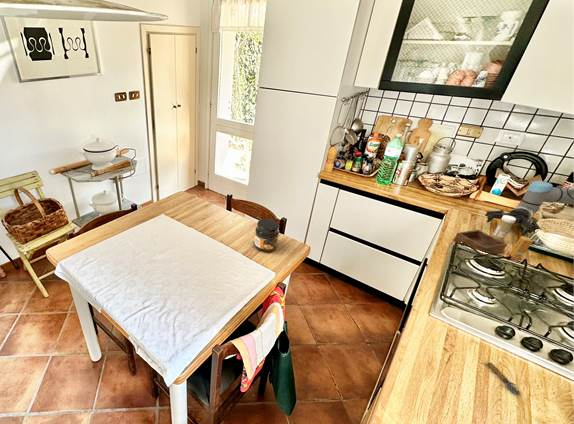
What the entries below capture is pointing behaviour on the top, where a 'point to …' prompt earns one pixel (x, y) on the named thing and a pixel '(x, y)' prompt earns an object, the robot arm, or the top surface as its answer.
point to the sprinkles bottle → (503, 227)
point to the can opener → (509, 384)
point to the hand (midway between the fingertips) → (506, 226)
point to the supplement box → (520, 247)
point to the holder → (481, 241)
